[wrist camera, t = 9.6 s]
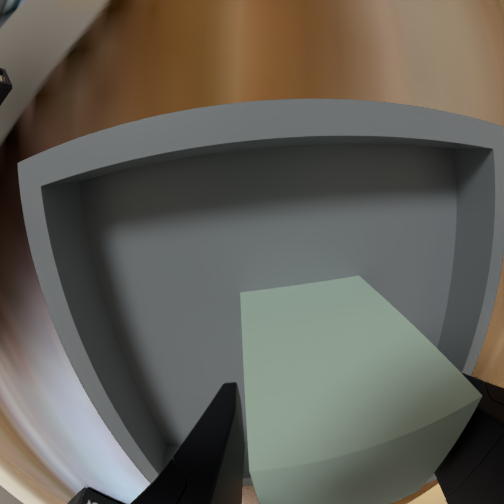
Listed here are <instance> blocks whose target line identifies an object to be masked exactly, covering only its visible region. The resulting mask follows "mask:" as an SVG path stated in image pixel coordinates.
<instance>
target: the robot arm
mask: <svg viewBox="0 0 504 504" xmlns="http://www.w3.org/2000/svg"><path fill="white" fill-rule="evenodd" d="M461 373H462V372H461ZM462 374H463V375H464V376H465V377H466V379H467V380H468V381H469V382H470V383H471V384H472V385H473V386H474V387H475V388H476V389H477V390H478V391H479V392H480V394H481V395H482V397H481V399H480V401H479V403H478V405H477V407H476V409H475V411H474V413H473V414H472V416H471V418H470V420H469V421H468V423H467V425H466V427H465V428H464V430H463V432H462V433H461V435H460V436H459V438H458V439H457V441H456V443H455V444H454V446H453V447H452V449H451V450H450V451H449V453H448V454H447V456H446V457H445V459H444V460H443V461H442V463H441V464H440V465H439V467H438V468H437V469H436V471H435V472H434V474H435V476H436V478H437V480H438V482H439V485H440V487H441V489H442V491H443V493H444V496H445V498H446V501H447V503H448V504H504V388H501V387H498V386H496V385H493V384H490V383H488V382H485V383H484V381H482V380H480V379H477V378H474V377H472V376H469V375H467V374H464V373H462ZM244 453H245V440H244V428H243V416H242V405H241V398H240V393H239V389H238V384H237V383H236V382H229V383H224V384H223V385H222V386H221V388H220V389H219V391H218V392H217V394H216V395H215V397H214V398H213V400H212V401H211V403H210V404H209V406H208V407H207V409H206V410H205V412H204V413H203V414H202V416H201V417H200V419H199V420H198V422H197V423H196V425H195V426H194V427H193V429H192V430H191V432H190V433H189V435H188V436H187V437H186V439H185V440H184V442H183V443H182V444H181V446H180V447H179V449H178V450H177V451H176V453H175V454H174V456H173V459H170V461H169V462H168V464H167V465H166V466H165V468H164V469H163V470H162V471H161V473H160V474H159V475H158V476H157V477H156V479H155V480H154V481H153V482H152V483H151V484H150V485H149V486H148V487H147V488H146V489H145V490H144V491H143V492H142V493H141V494H140V495H139V496H138V497H137V498H136V499H135V500H134V501H133V502H132V503H131V504H241V503H242V487H243V470H244Z"/></svg>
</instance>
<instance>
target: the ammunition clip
mask: <svg viewBox="0 0 504 504" xmlns="http://www.w3.org/2000/svg"><path fill="white" fill-rule="evenodd" d="M11 89H12V84H11V82H10V80H9V78H8V75H7V73H6V71H5V69H1V68H0V105H1V104H2V102H3V101H4V99H5V98H6V97H7V95H8V93H9V92H10V91H11Z"/></svg>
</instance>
